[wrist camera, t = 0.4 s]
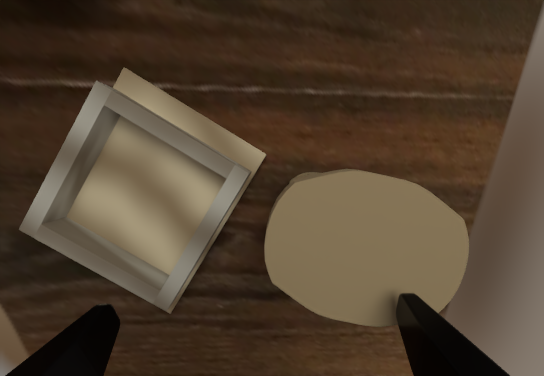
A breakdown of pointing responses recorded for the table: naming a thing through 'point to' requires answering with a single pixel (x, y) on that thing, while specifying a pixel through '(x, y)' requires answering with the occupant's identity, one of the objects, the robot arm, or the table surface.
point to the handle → (363, 245)
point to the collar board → (141, 189)
